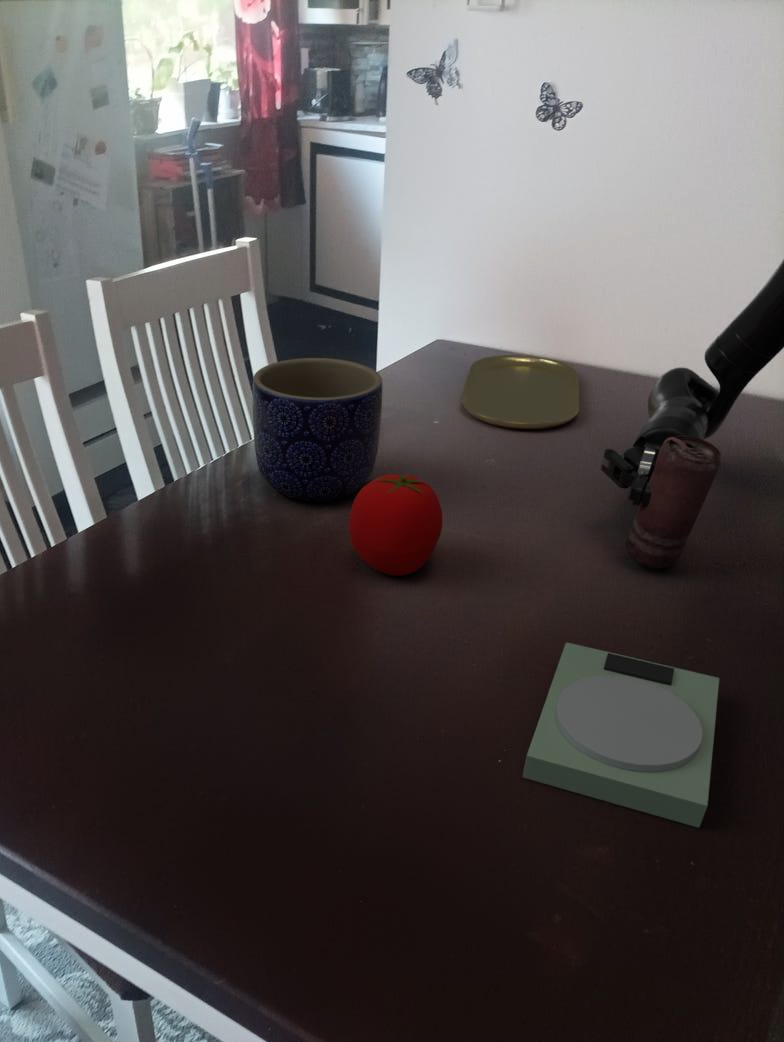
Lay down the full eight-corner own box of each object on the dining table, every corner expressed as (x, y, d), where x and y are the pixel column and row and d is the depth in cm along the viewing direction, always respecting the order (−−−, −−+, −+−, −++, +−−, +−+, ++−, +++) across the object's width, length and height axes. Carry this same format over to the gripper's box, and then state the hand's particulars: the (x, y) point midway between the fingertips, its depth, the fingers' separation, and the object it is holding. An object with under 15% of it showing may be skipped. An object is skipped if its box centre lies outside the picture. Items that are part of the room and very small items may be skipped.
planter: (330, 452, 131) (334, 350, 123) (401, 494, 120) (410, 384, 112) (232, 477, 124) (228, 369, 115) (297, 524, 112) (298, 409, 104)
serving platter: (454, 426, 140) (455, 416, 140) (473, 359, 168) (474, 351, 168) (577, 438, 137) (579, 428, 136) (576, 368, 165) (578, 359, 164)
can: (631, 531, 108) (672, 426, 98) (683, 552, 105) (730, 446, 96) (614, 555, 104) (655, 447, 95) (668, 576, 101) (715, 469, 92)
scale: (561, 662, 89) (567, 635, 87) (712, 699, 84) (722, 670, 82) (522, 777, 75) (528, 747, 73) (699, 828, 71) (710, 798, 69)
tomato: (358, 591, 99) (363, 502, 93) (340, 546, 108) (343, 462, 102) (450, 584, 101) (460, 496, 95) (425, 540, 109) (433, 457, 103)
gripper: (620, 406, 112) (587, 455, 99) (734, 425, 107) (715, 479, 94) (608, 462, 116) (575, 516, 104) (717, 483, 111) (697, 542, 99)
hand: (642, 498), depth 99 cm, fingers closed
